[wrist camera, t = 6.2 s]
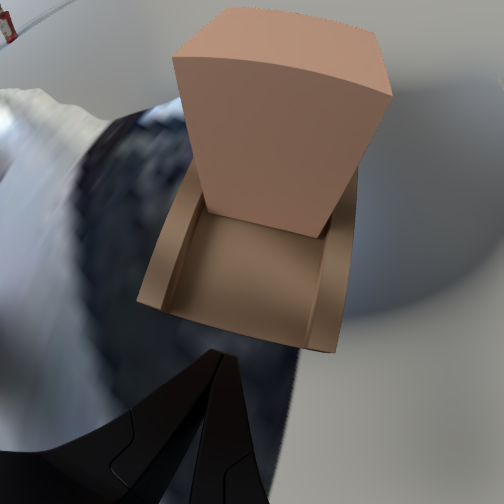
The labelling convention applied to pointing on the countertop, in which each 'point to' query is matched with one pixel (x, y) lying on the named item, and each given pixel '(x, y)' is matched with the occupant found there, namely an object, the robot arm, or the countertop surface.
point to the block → (279, 113)
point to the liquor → (7, 26)
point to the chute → (252, 272)
